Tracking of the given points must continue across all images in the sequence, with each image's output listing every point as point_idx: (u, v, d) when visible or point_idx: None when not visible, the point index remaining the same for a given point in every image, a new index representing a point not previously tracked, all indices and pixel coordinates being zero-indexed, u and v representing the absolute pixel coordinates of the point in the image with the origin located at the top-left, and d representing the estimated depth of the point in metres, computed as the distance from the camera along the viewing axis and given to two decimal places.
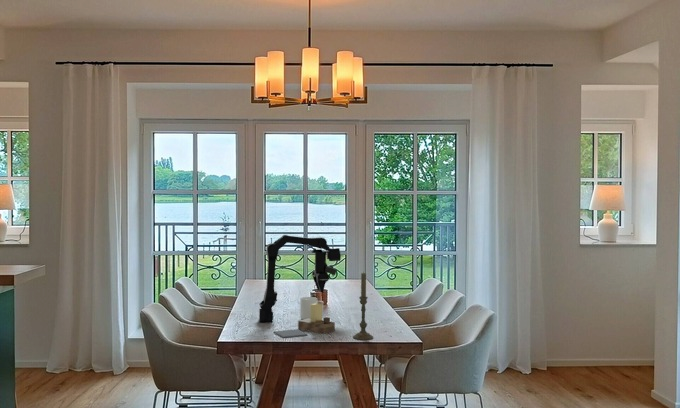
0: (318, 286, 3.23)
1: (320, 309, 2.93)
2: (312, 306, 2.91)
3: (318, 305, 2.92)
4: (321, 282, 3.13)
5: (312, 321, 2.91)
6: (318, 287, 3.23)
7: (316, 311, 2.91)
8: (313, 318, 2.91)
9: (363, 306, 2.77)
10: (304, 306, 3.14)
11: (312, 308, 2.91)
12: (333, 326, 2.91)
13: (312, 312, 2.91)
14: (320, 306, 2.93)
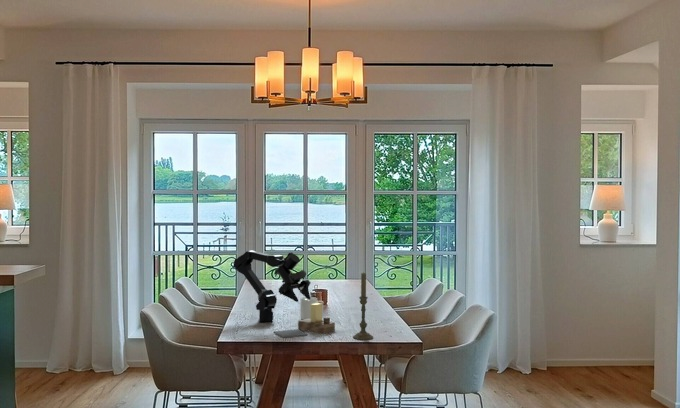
0: (307, 296, 3.02)
1: (320, 309, 2.93)
2: (312, 306, 2.91)
3: (318, 305, 2.92)
4: (289, 293, 2.96)
5: (312, 321, 2.91)
6: (307, 297, 3.02)
7: (316, 311, 2.91)
8: (313, 318, 2.91)
9: (363, 306, 2.77)
10: (304, 306, 3.14)
11: (312, 308, 2.91)
12: (333, 326, 2.91)
13: (312, 312, 2.91)
14: (320, 306, 2.93)
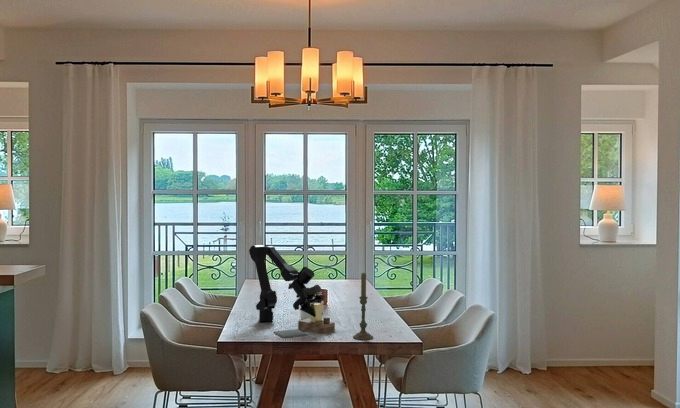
0: None
1: (320, 309, 2.93)
2: (312, 306, 2.91)
3: (318, 305, 2.92)
4: (306, 308, 2.92)
5: (312, 321, 2.91)
6: None
7: (316, 311, 2.91)
8: (313, 318, 2.91)
9: (363, 306, 2.77)
10: None
11: (312, 308, 2.91)
12: (333, 326, 2.91)
13: None
14: (320, 306, 2.93)
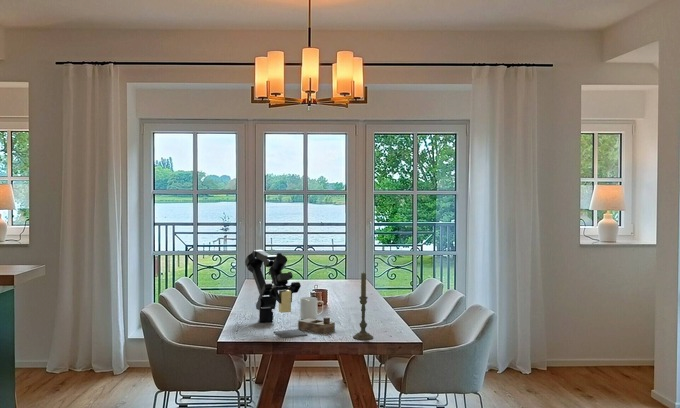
0: None
1: (288, 296, 2.91)
2: (279, 293, 2.91)
3: (285, 292, 2.90)
4: (275, 294, 2.92)
5: (279, 308, 2.91)
6: None
7: (282, 298, 2.90)
8: (280, 305, 2.90)
9: (363, 306, 2.77)
10: (304, 306, 3.14)
11: (279, 295, 2.91)
12: (333, 326, 2.91)
13: None
14: (288, 293, 2.91)
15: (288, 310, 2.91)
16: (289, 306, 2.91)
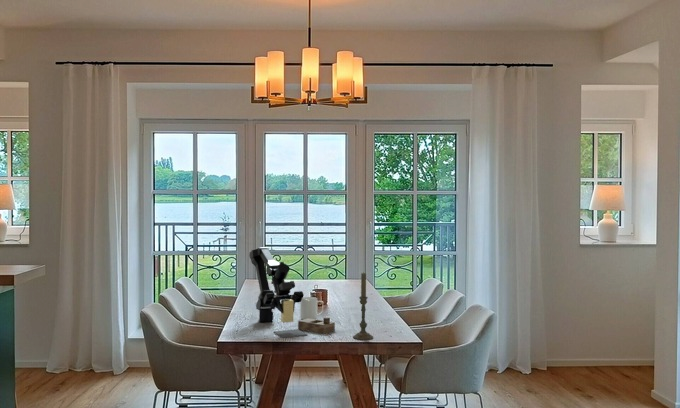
0: None
1: (290, 306, 2.86)
2: (282, 302, 2.86)
3: (287, 301, 2.85)
4: (277, 304, 2.88)
5: (281, 317, 2.86)
6: None
7: (284, 307, 2.85)
8: (282, 315, 2.85)
9: (363, 306, 2.77)
10: (304, 306, 3.14)
11: (282, 304, 2.86)
12: (333, 326, 2.91)
13: None
14: (290, 303, 2.86)
15: (290, 320, 2.86)
16: (291, 316, 2.86)
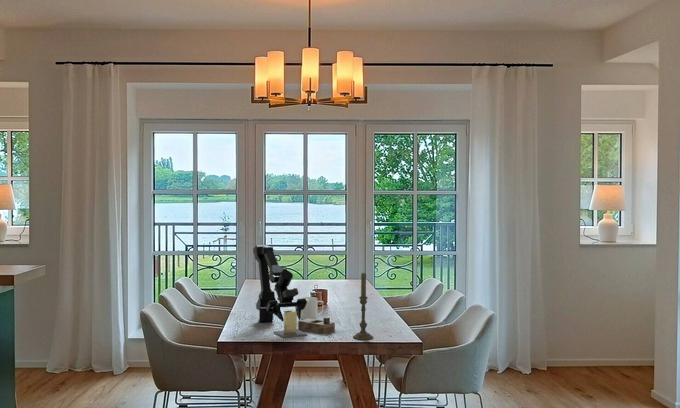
0: (298, 316, 2.85)
1: (294, 317, 2.83)
2: (285, 313, 2.83)
3: (290, 313, 2.82)
4: (277, 312, 2.83)
5: (285, 329, 2.83)
6: (298, 317, 2.85)
7: (287, 319, 2.81)
8: (285, 326, 2.82)
9: (363, 306, 2.77)
10: None
11: (285, 315, 2.83)
12: (333, 326, 2.91)
13: (285, 319, 2.83)
14: (294, 314, 2.83)
15: (294, 331, 2.83)
16: (295, 327, 2.83)
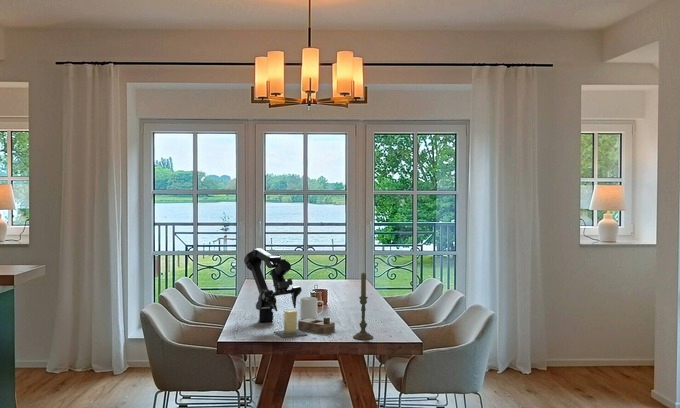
0: (293, 304, 2.97)
1: (294, 317, 2.83)
2: (285, 313, 2.83)
3: (290, 313, 2.82)
4: None
5: (285, 329, 2.83)
6: (293, 305, 2.97)
7: (287, 319, 2.81)
8: (285, 326, 2.82)
9: (363, 306, 2.77)
10: (304, 306, 3.14)
11: (285, 315, 2.83)
12: (333, 326, 2.91)
13: (285, 319, 2.83)
14: (294, 314, 2.83)
15: (294, 331, 2.83)
16: (295, 327, 2.83)
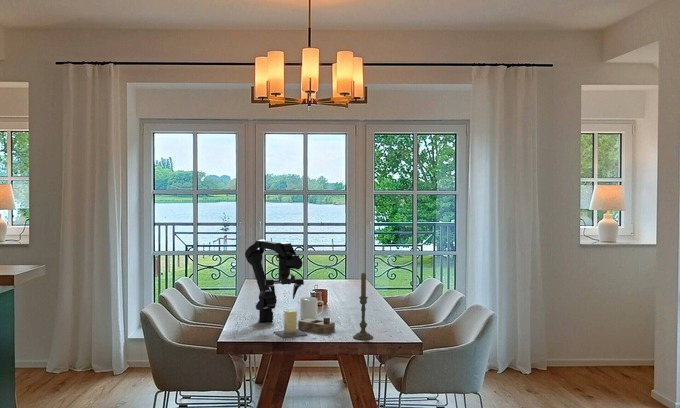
0: (293, 295, 3.04)
1: (294, 317, 2.83)
2: (285, 313, 2.83)
3: (290, 313, 2.82)
4: None
5: (285, 329, 2.83)
6: None
7: (287, 319, 2.81)
8: (285, 326, 2.82)
9: (363, 306, 2.77)
10: (304, 306, 3.14)
11: (285, 315, 2.83)
12: (333, 326, 2.91)
13: (285, 319, 2.83)
14: (294, 314, 2.83)
15: (294, 331, 2.83)
16: (295, 327, 2.83)
